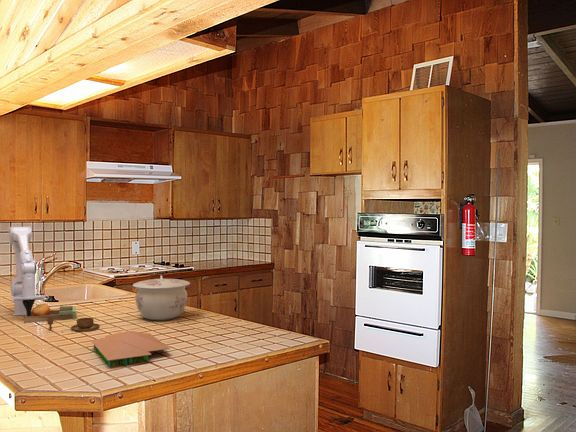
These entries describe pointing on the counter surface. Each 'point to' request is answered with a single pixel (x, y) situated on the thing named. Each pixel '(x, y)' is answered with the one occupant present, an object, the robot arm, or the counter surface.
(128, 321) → the counter surface
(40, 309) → the fruit
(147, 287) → the chamber pot
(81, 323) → the place setting
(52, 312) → the chute
